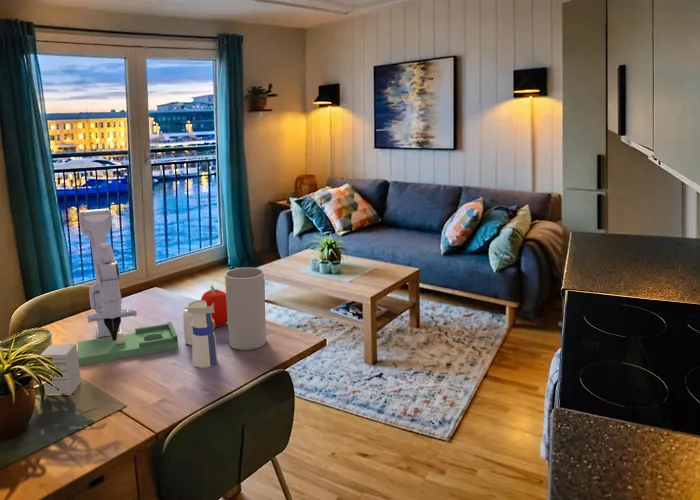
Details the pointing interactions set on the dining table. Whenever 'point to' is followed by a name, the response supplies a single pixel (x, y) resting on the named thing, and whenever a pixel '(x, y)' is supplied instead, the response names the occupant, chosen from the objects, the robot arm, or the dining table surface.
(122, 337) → the ball
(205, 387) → the dining table surface
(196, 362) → the water bottle
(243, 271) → the cylinder vase
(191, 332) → the can
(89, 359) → the green mini golf board
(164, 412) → the dining table surface
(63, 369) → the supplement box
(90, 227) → the robot arm
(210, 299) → the tomato
